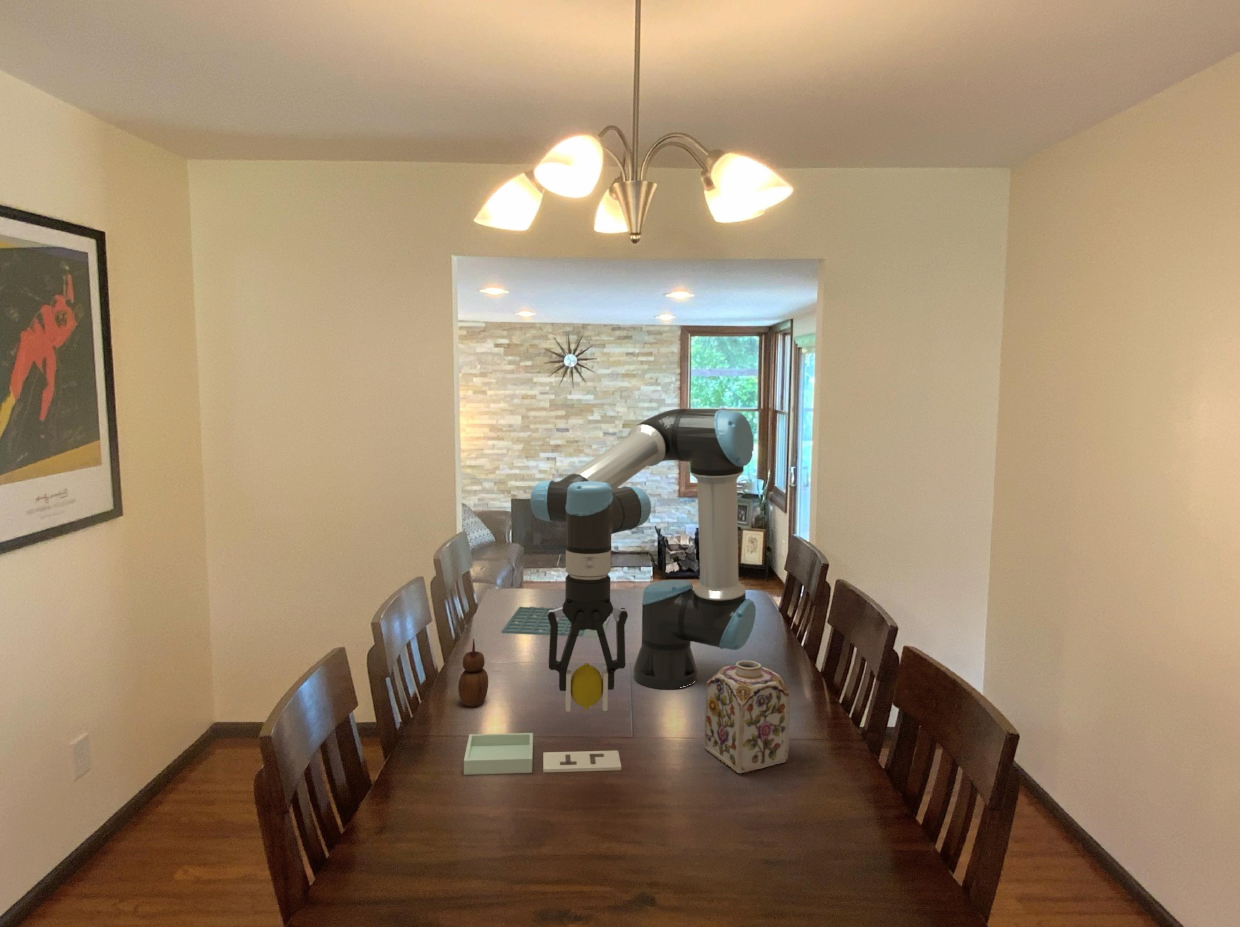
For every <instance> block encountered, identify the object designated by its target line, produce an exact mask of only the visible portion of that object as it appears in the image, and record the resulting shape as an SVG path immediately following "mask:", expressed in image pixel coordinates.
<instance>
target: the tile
mask: <svg viewBox="0 0 1240 927" xmlns="http://www.w3.org/2000/svg"><path fill="white" fill-rule="evenodd" d="M542 754H543V755H542V756H543V758H542V760H543V761H542V763H543V764H542V766H543V767H542V768H543V773H567V772H569V773H570V772H571V773H572V772H606V771H607V772H609V771H610V772H611V771H613V772H614V771H622V764H621V758H620V753H619V750H591V751H589V750H588V751H587V750H586V751H581V750H580V751H555V752H554V751H553V752H552V751H551V752H544V751H543V753H542Z"/></svg>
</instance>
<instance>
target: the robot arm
mask: <svg viewBox="0 0 1240 927" xmlns="http://www.w3.org/2000/svg"><path fill="white" fill-rule="evenodd" d="M754 441H755V440H754V433H753V430H752V427H751V424H750V422H749V420H748V419H747V417H746V416H745V415H744V414H743V413H742V412H739V411H737V410H726V409H711V408H710V409H699V408H697V409H696V408H675V409H669V410H666V411H663V412H660V413H658V414H655V415H653V416H651V417H649V418H647V419H645V420H643V421H641V422H639V423H638V424H637V425H635V426H633V427H632V428H631V429H630V430H629V431H628V433H627V437H625V438H623V439H622V440H620V441H619V442H618V443H616V444H614V445H613V446H611V447H610V448H608V449H607V450H605V451H603V452H601V454H599V455H597V456H596V457H594V458H593V459H591V460H590V461H588V462H587V463H585V464H584V465H582V466H581V467H580V468H578V469H576V470H575V471H573V472H571V473H570V474H568V475H567V476H565V477H564V478H562V479H560V480H557V481H555V480H541V481H539V482H538V483H537V484H536V485H535V486H534V487H533V489H532V491H531V493H530V500H529V501H530V508H531V512H532V514H533V515H534V517H535V518H536V519H539V520H541V521H545V522H546V521H547V522H550V523H552V524H553V523H554V524H555V523H558V524H566V526H565V527H566V544H565V545H566V546H565V548H566V549H565V572H566V573H567V575H566V576H565V594H564V595H565V596H564V599H565V600H564V602H563V604H562V606H561V607H557V608H558V609H555V610H554V609H549V610H548V619H549V622H550V635H549V648H548V669H549V670H550V671H556V672H558V677H559V678H558V687H559V688H558V689H559V691H560V692H565V712H566V713H568V712H571V707H572V706H571V704H572V703H571V697H572V696H571V678H572V673H571V672H572V671H571V668H568V667H569V665H570V662H571V657H572V655H573V651H574V648H575V645H576V642H577V640H578V639H577V638H578V637H577V636H578V634H579V630H586V629H590V630H597V634H598V637H599V638H598V637H597V638H598V640H599V644H600V647H601V651H602V656H603V659H604V661H605V665H606V667H602V670H601V677H602V682H603V691H602V695H601V708H602V711H604V712H607V711H608V704H609V703H608V698H609V696H608V692H609V691H612V690H614V689H615V674H616V671H617V670H620V669H622V670H623V669H625V667H626V637H625V636H626V630H625V629H626V628H625V626H626V622H627V620H628V616H629V615H628V611H627V609H626V608H625V607H620V608H619V607H616V606H613V603H612V601H611V576H610V575H609V574H610V573H611V566H612V565H611V563H612V561H611V559H612V558H611V555H612V552H611V551H612V550H611V549H612V535H614V534H617V533H620V532H625V531H631V530H634V529H636V528H638V527H640V526H643V524H646V522H647V521H648V520H649V517H650V516H651V512H652V503H651V500H650V498H649V495H648V494H647V493H646V491H645V490H644V489H642V488H640V487H638V486H628V485H625V486H622V485H623V484H624V483H626V482H627V481H629V480H630V479H631V478H633V477H635V476H636V475H637V474H638V473H640V472H641V471H642V470H644V469H645V468H647V467H653V466H657V465H658V464H660V463H662V462H665V461H667V462H668V461H679V462H685V463H686V462H687V463H688V462H689V472H690V474H691V475H692V476H693V477H694V478H695V479H696V482H697V515H698V516H697V517H698V519H697V520H698V549H699V550H698V552H699V554H698V555H699V556H698V558H699V582H698V583H697V584H696V585H695V586H694V585H693V583H692V581H689V580H686V579H668V580H660V581H656V582H652V583H649V584H647V585H646V586H645V587H644V588H643V593H642V594H643V595H642V602H641V606H642V607H641V609H642V611H641V613H642V614H641V646H640V649H639V651H638V654H637V657H636V660H635V662H634V666H633V679H634V680H635V682H637V683H639V684H640V685H642V686H646V687H649V688H653V689H659V690H675V689H674V688H679V689H681V688H680V687H683V686H687V685H689V684H692V683H693V682H694V681H695V680H696V678H697V679H698V669H697V666H696V665H697V664H696V661H695V659H694V655H693V651H692V648H691V642H692V643H693V642H694V643H695V644H696V643H697V644H701V645H702V644H703V645H706V646H710V647H715V648H720V649H722V650H724V649H726V650H733V651H735V650H736V651H737V650H740V649H741V648H743V647H745V645H746V643H747V642H748V640H749V638H750V636H751V635H752V634H751V633H752V632H753V628H754V626H755V621H756V612H757V609H756V608H757V607H756V604H755V602H754V601H753V600H752V599H750V598H746V596H747V595H746V587H745V585H743V584H742V583H741V582H740V581H739V543H738V542H739V541H738V540H739V535H738V534H739V533H738V532H739V531H738V530H739V529H738V478H739V477H740V476H741V475H742V474H743V473H744V472H745V471H744V467H745V466H748V464H750V462H751V461H752V459H753V452H754V446H755V443H754ZM620 486H622V487H620ZM563 614H565V616H566V617H567V619H568V620H569V621H570V623H571V627H570V631H569V634H568V636H567V639H566V642H565V645H564V647H563V651H562V654H561V658H560V661H559V660H557V654H558V639H559V638H558V637H559V636H558V622H560V621H561V616H562V615H563ZM610 614H611V615H613V620H614V621H615V624H616V625H615V633H616V634H615V636H616V641H615V642H616V659H614V660H613V657H612V653H611V650H610V646H609V642H608V639H607V635H606V632H604V628H603V624H604V622H605V621H606V620H607V618H608V617H609V616H610V617H611V615H610ZM696 681H697V680H696ZM692 685H693V684H692Z"/></svg>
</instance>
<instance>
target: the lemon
mask: <svg viewBox="0 0 1240 927" xmlns="http://www.w3.org/2000/svg"><path fill="white" fill-rule="evenodd" d="M602 691H603V682H602V673H601V672H600V670H599V669H597V668H596V667H595V666H594V665H592V664H590V663H584V664H583V665H580V666H578V667H577V668H576V669H575V670H574V671H573V673H572V674H571V697H572V700H573V702H574V703H575V704H577V705H578V706H580V707H582V708H583V709H584V710H589V708H590V707H592V706H595V705H596V704H597V703H598V702H599V701H600V700H601V698H602Z"/></svg>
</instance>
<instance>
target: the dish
mask: <svg viewBox="0 0 1240 927" xmlns="http://www.w3.org/2000/svg"><path fill="white" fill-rule="evenodd" d="M533 745H534V733H533V732H519V733H518V732H517V733H516V732H513V733H511V732H510V733H509V732H508V733H482V734H481V733H480V734H479V733H477V734H476V733H474V734H471V733H469V735H468V740H467V744H466V748H465V753H464V758H463V775H465V776H467V775H469V776H470V775H496V774H498V775H499V774H504V775H505V774H532V773H533V755H534V750H533V748H534V746H533Z"/></svg>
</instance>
